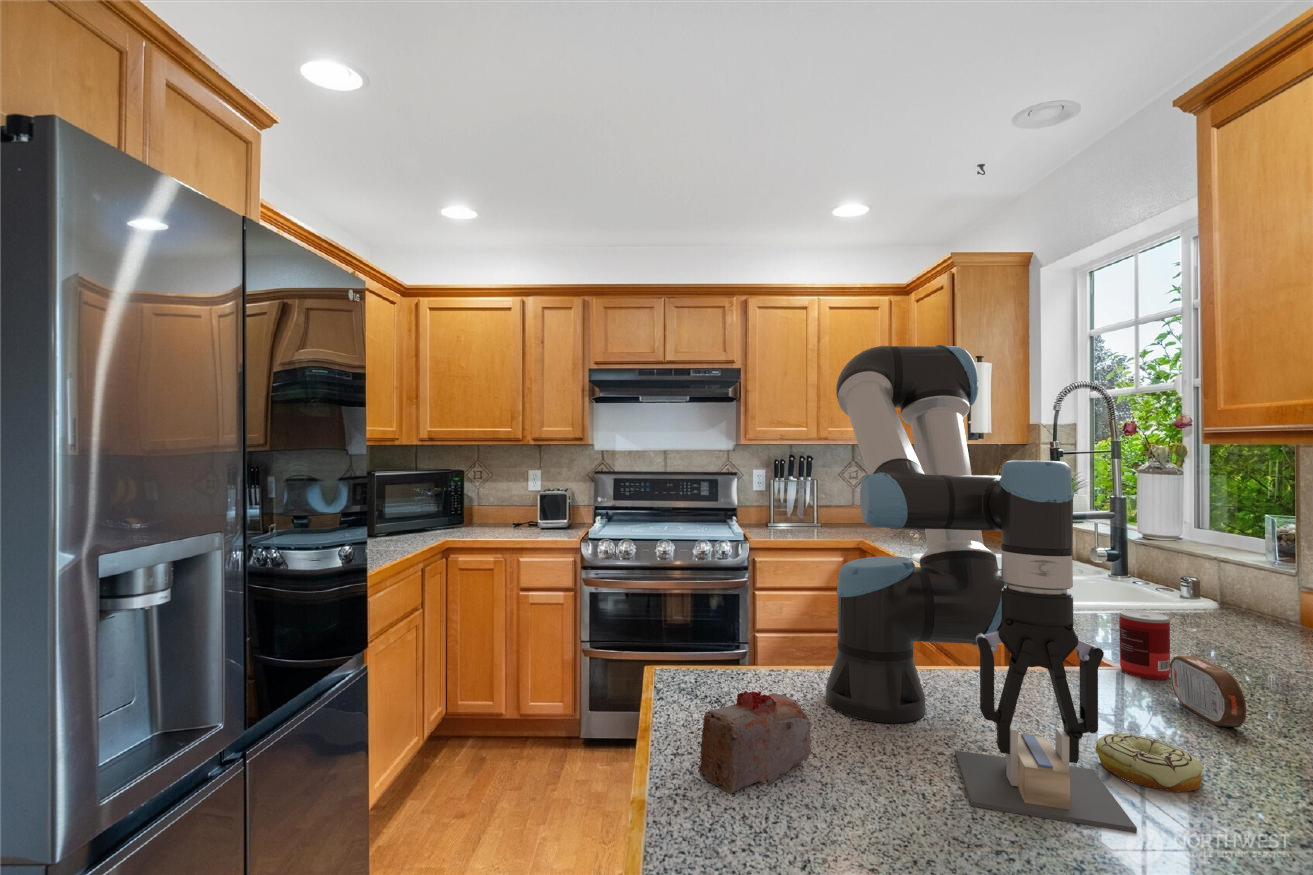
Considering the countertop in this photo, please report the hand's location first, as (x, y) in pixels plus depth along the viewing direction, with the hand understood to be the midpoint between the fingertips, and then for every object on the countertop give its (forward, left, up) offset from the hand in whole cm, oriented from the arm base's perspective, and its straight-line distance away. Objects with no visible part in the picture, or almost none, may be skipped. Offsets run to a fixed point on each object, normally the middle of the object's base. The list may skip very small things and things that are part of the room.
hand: (1037, 784), depth 78 cm
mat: (0, 0, -1) cm, 1 cm away
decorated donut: (+15, +9, -1) cm, 17 cm away
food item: (-33, -7, -1) cm, 33 cm away
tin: (+31, +36, -1) cm, 48 cm away
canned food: (+31, +57, -1) cm, 65 cm away
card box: (0, 0, 0) cm, 0 cm away
